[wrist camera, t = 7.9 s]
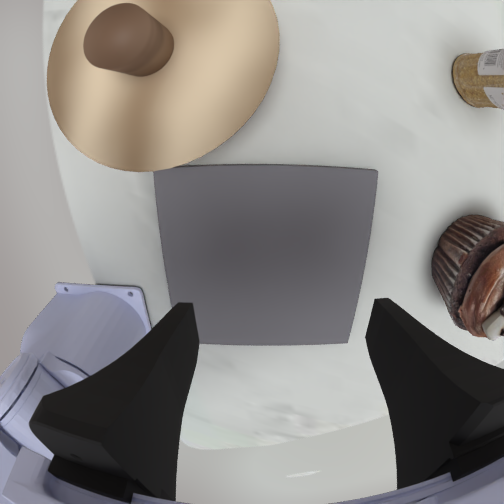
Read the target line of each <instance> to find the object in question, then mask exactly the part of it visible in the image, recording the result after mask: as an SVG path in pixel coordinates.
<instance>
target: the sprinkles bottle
mask: <svg viewBox="0 0 504 504" xmlns="http://www.w3.org/2000/svg"><path fill="white" fill-rule="evenodd" d="M453 78H454V83H455V85H456V88H457V90H458V92H459V93H460V95H461V96H462V98H463V99H464V100H465V101H466V102H467V103H468V104H470V105H472V106H474V107H477V108H480V107H482V108H483V107H493V108H501V109H504V49H499V50H491V51H486V52H484V53H477V54H469V53H466V54H463V55H460V56H459V57H458V58H457V59H456V61H455V63H454V66H453Z"/></svg>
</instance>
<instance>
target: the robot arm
mask: <svg viewBox="0 0 504 504" xmlns="http://www.w3.org/2000/svg"><path fill="white" fill-rule="evenodd" d="M66 287H67V288H68V289H67V288H66ZM55 289H56V292H57V294H56V295H55V296H54V298H53V299H52V300H51V301H50V302H49V303H48V304H47V306H46V307H45V308H44V309H43V310H42V311H41V312H40V314H39V315H38V316H37V317H36V318H35V320H34V321H33V322H32V323H31V324H30V326H29V327H28V328H27V330H26V331H25V333H24V336H23V339H22V343H21V350H20V355H19V356H17V357H16V358H15V359H14V360H13V362H12V363H11V364H10V365H9V366H8V367H7V369H6V370H5V371H4V372H3V373H2V375H1V376H0V504H189V503H182V502H176V498H175V497H176V473H177V459H178V449H179V440H180V431H181V424H182V417H183V412H184V408H185V404H186V400H187V396H188V393H189V389H190V385H191V382H192V378H193V375H194V371H195V367H196V363H197V357H198V350H199V342H200V341H199V335H198V330H197V324H196V318H195V312H194V306H193V303H187V302H178V303H177V304H176V305H175V306H174V307H173V308H172V309H171V310H170V311H169V312H168V313H167V314H166V315H165V316H164V317H163V318H162V319H161V320H160V321H159V322H158V323H157V324H156V325H155V326H154V327H153V328H152V329H151V325H150V321H149V317H148V313H147V309H146V305H145V301H144V296H143V292H142V290H141V289H140V288H138V287H124V286H106V285H90V284H76V283H62V282H58V283H57V284H56V285H55ZM130 292H132V293H133V294H131V293H130ZM365 338H366V343H367V347H368V352H369V356H370V359H371V362H372V365H373V367H374V370H375V373H376V375H377V378H378V381H379V383H380V386H381V389H382V392H383V394H384V397H385V400H386V403H387V407H388V411H389V415H390V420H391V425H392V431H393V438H394V444H395V454H396V465H397V490H395V491H391V492H387V493H383V494H379V495H375V496H370V497H365V498H360V499H355V500H349V501H343V502H337V503H331V504H504V369H501V368H499V367H496V366H493V365H491V364H488V363H486V362H483V361H481V360H479V359H477V358H475V357H473V356H470V355H468V354H467V353H465V352H463V351H461V350H459V349H458V348H456V347H454V346H453V345H451V344H449V343H448V342H446V341H445V340H443V339H442V338H440V337H439V336H437V335H436V334H435V333H433V332H432V331H430V330H429V329H428V328H426V327H425V326H424V325H422V324H421V323H420V322H419V321H417V320H416V319H415V318H414V317H412V316H411V315H410V314H409V313H407V312H406V311H405V310H404V309H402V308H401V307H400V306H398V305H397V304H396V303H395V302H393V301H392V300H390V299H389V298H380V299H375V300H374V304H373V308H372V312H371V317H370V321H369V325H368V328H367V332H366V336H365Z"/></svg>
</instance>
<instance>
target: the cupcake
mask: <svg viewBox="0 0 504 504" xmlns="http://www.w3.org/2000/svg"><path fill="white" fill-rule="evenodd" d="M432 276H433V278H434V280H435V283H436V284H437V287H438V289H439V291H440V293H441V295H442V297H443V299H444V301H445V304H446V306H447V309H448V312H449V314H450V316H451V318H452V320H453V322H454V324H455V325H456V326H458V327H459V328H461V329H463V330H468V331H469V332H470V333H471V334H472V335H473V336H477V337H486V338H488V339H489V340H492V341H494V340H496V339H497V338H499V337H500V336H504V222H501V221H496V220H492V219H490V218H487V217H484V216H480V215H468V216H465V217H461V218H460V219H457V220H456V221H455V222H453V223H452V225H451V226H449V227H448V229H447V230H446V231H445V232H444V233H443V235H442V236H441V238H440V240H439V242H438V247H437V248H436V250H435V252H434V255H433V259H432Z"/></svg>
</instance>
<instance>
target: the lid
mask: <svg viewBox="0 0 504 504" xmlns="http://www.w3.org/2000/svg"><path fill="white" fill-rule="evenodd" d="M278 54H279V28H278V21H277V17H276V14H275V11H274V8H273V5H272V3H271V1H270V0H78V1H77V2H76V3H75V4H74V5H73V7H72V8H71V10H70V11H69V12H68V14H67V15H66V17H65V19H64V20H63V22H62V24H61V26H60V28H59V30H58V32H57V34H56V37H55V39H54V42H53V45H52V48H51V52H50V56H49V61H48V68H47V90H48V97H49V102H50V107H51V110H52V112H53V115H54V118H55V120H56V122H57V124H58V126H59V128H60V130H61V131H62V132H63V134H64V135H65V137H66V138H67V139H68V140H69V141H70V143H71V144H72V145H73V146H74V147H75V148H76V149H78V150H79V151H80V152H81V153H83V154H84V155H85V156H87V157H88V158H90V159H92V160H94V161H96V162H97V163H100V164H102V165H105V166H108V167H110V168H114V169H119V170H123V171H133V172H149V171H158V170H164V169H170V168H173V167H176V166H179V165H183V164H186V163H188V162H190V161H193V160H195V159H197V158H200V157H202V156H203V155H205V154H207V153H208V152H210V151H212V150H214V149H215V148H217V147H218V146H219V145H221V144H222V143H223V142H225V141H226V140H228V139H229V138H230V137H232V136H233V135H234V134H235V133H236V132H237V131H238V130H239V129H240V128H241V127H242V126H243V125H244V124H245V123H246V122H247V121H248V119H249V118H250V117H251V116H252V115H253V113H254V112H255V111H256V109H257V108H258V106H259V105H260V103H261V102H262V100H263V99H264V96H265V94H266V92H267V90H268V88H269V86H270V84H271V81H272V78H273V75H274V72H275V69H276V66H277V60H278Z"/></svg>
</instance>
